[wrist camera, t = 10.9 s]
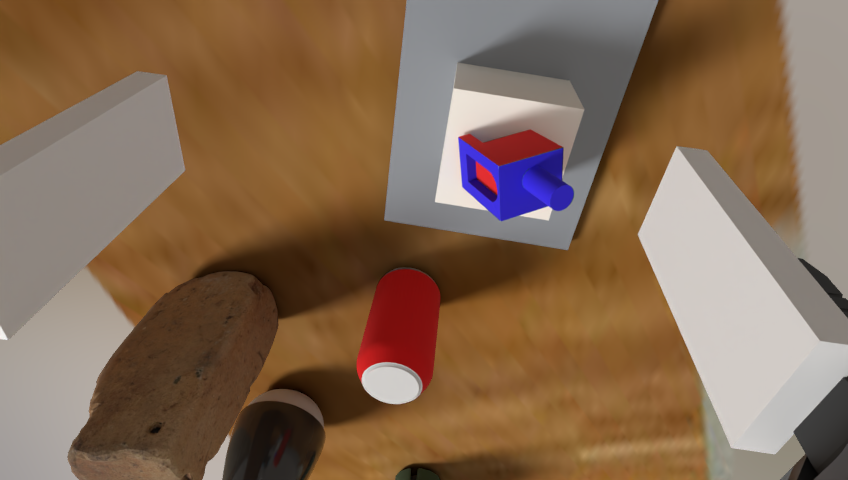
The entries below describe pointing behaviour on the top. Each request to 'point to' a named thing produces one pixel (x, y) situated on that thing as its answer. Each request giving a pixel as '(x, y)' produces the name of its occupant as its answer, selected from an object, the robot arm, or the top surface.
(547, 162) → the toy building block
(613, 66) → the build base
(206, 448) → the block
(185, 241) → the top surface
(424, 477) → the character mug
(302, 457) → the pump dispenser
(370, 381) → the beverage can
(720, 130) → the top surface
